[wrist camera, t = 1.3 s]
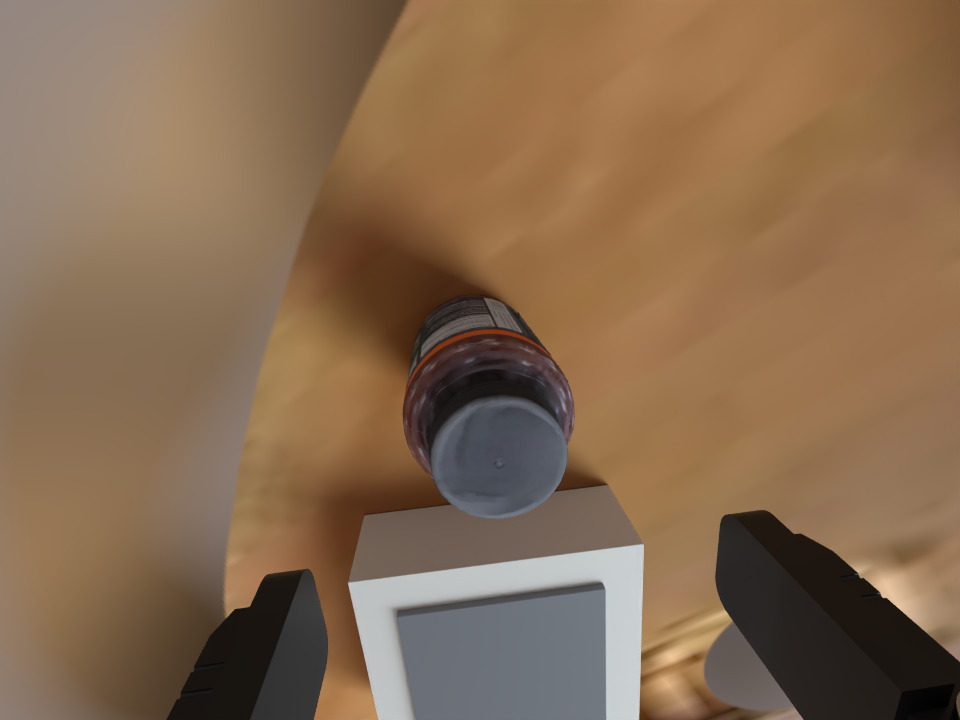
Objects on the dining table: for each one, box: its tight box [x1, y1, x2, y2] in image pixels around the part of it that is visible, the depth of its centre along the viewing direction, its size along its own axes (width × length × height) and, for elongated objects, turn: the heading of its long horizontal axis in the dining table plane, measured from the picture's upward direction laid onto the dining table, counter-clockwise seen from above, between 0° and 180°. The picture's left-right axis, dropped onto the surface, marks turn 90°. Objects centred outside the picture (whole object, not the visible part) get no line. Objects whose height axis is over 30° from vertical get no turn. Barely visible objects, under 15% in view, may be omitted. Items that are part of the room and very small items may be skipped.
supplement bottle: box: [403, 295, 575, 519], centre depth 19 cm, size 6×6×11 cm
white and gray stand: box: [348, 485, 644, 720], centre depth 27 cm, size 14×14×5 cm
